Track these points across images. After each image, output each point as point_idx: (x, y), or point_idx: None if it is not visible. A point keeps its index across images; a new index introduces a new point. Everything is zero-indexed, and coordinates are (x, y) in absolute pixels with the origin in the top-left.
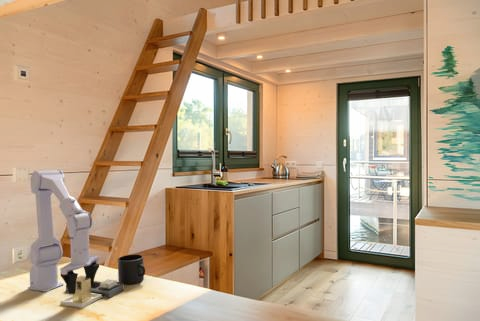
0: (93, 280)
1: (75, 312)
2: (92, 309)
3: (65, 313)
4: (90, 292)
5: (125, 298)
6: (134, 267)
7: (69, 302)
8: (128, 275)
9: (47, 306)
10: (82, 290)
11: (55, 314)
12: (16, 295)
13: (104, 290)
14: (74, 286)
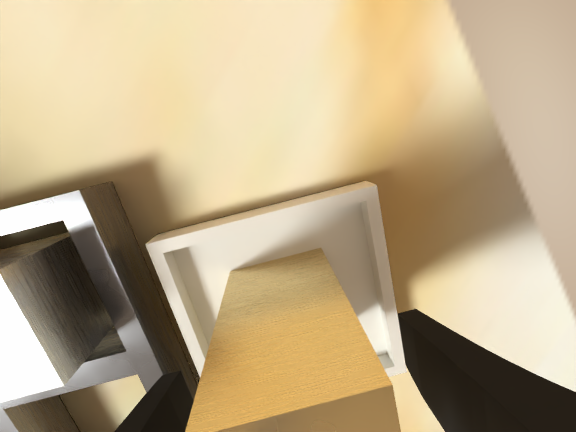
0: (129, 420)
1: (430, 148)
2: (331, 82)
3: (471, 194)
4: (227, 298)
5: (2, 34)
6: None
7: (393, 299)
8: None
9: None
10: (335, 302)
11: (507, 235)
12: None
13: (93, 269)
14: (474, 354)
